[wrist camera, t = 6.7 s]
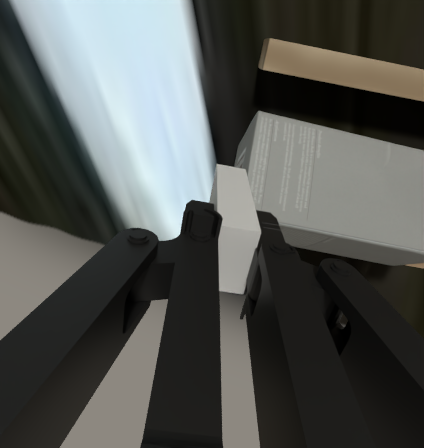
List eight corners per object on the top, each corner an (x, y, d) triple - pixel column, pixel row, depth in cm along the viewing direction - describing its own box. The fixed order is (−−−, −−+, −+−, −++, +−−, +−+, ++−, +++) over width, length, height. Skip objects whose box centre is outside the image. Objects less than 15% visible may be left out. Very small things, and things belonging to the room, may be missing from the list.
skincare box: (218, 231, 28) (386, 272, 30) (240, 212, 21) (457, 267, 23) (237, 141, 30) (393, 186, 32) (263, 96, 23) (461, 157, 25)
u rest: (264, 39, 25) (274, 37, 21) (480, 83, 27) (532, 90, 22) (226, 211, 32) (228, 237, 28) (399, 239, 34) (426, 268, 29)
